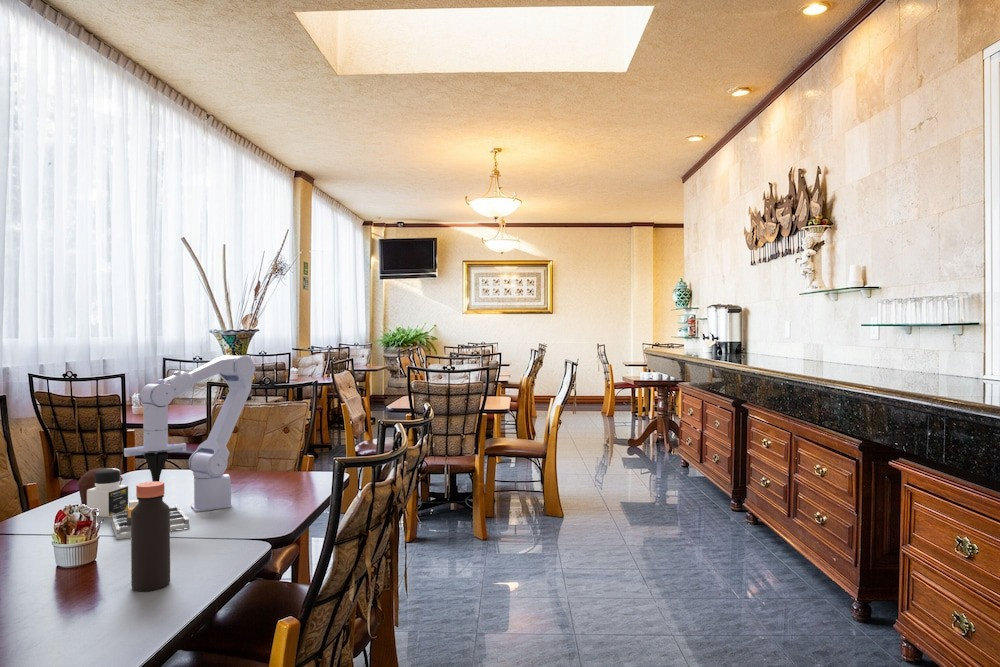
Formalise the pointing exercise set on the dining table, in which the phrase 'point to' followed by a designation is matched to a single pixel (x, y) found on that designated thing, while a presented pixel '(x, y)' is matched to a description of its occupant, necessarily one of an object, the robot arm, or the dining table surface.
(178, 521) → the gray compartment tray
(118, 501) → the medicine bottle
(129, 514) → the orange fader
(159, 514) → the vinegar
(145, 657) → the dining table surface
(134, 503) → the white fader
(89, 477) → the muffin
